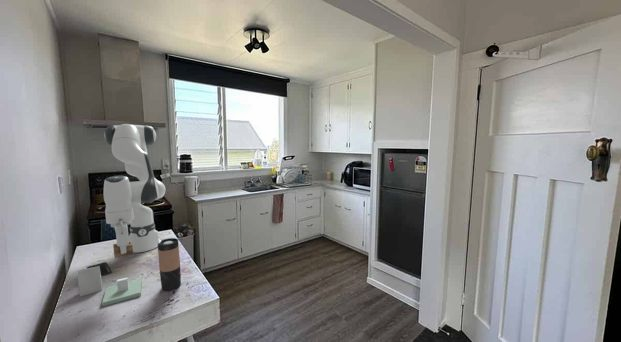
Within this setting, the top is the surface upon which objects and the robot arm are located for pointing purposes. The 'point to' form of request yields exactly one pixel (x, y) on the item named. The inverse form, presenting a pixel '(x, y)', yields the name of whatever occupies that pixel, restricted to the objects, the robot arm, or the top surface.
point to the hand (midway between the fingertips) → (123, 249)
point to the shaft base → (122, 291)
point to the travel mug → (169, 264)
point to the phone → (102, 268)
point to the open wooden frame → (118, 252)
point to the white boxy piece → (89, 281)
